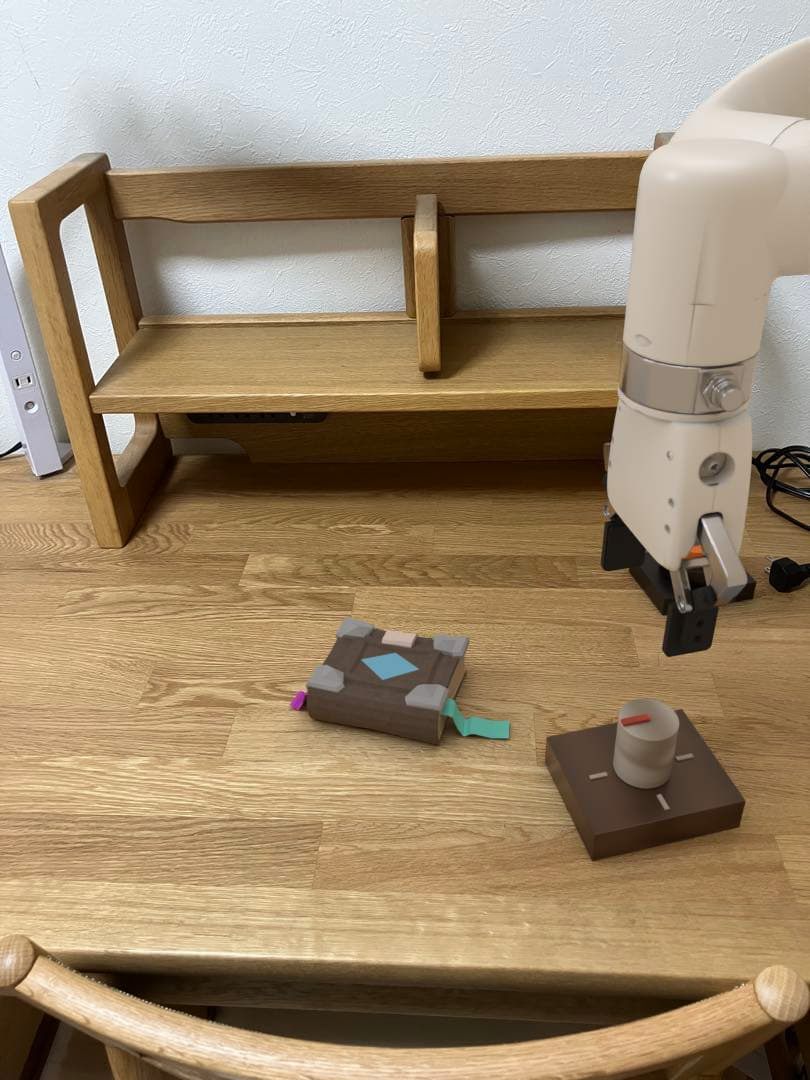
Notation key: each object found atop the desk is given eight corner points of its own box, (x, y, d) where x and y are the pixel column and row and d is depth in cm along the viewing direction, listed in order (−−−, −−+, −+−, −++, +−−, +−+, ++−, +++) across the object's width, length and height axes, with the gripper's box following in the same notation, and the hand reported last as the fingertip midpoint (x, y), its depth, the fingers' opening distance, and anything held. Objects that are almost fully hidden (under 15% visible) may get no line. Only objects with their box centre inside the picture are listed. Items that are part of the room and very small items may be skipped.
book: (529, 668, 84) (531, 627, 81) (501, 764, 75) (502, 721, 72) (332, 634, 90) (328, 594, 87) (282, 719, 80) (276, 678, 77)
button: (701, 544, 94) (703, 530, 93) (718, 563, 91) (721, 549, 90) (669, 550, 93) (671, 536, 92) (686, 569, 90) (688, 555, 89)
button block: (713, 556, 98) (719, 525, 96) (753, 599, 91) (760, 567, 89) (628, 571, 96) (631, 540, 94) (662, 616, 90) (667, 584, 88)
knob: (655, 741, 72) (663, 690, 69) (681, 782, 68) (690, 731, 65) (603, 752, 71) (609, 701, 68) (627, 794, 68) (634, 742, 65)
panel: (677, 734, 77) (682, 707, 75) (739, 826, 68) (746, 799, 67) (544, 762, 75) (546, 735, 73) (591, 861, 66) (594, 833, 65)
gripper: (834, 427, 46) (771, 679, 55) (675, 317, 60) (646, 532, 69) (699, 447, 44) (658, 701, 54) (569, 329, 59) (555, 547, 68)
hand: (651, 606), depth 62 cm, fingers open, 9 cm apart
